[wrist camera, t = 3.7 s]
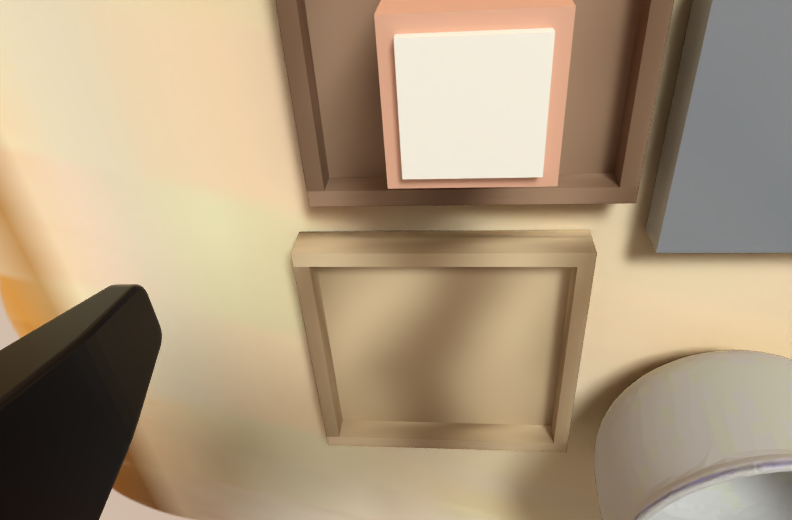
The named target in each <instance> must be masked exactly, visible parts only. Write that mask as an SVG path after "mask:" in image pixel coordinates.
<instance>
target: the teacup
mask: <svg viewBox="0 0 792 520" xmlns="http://www.w3.org/2000/svg"><path fill="white" fill-rule="evenodd" d="M594 470H595V480H596V487H597V493H598V500H599V507H600V512H601V517H602V520H792V360H791V359H788V358H785V357H782V356H778V355H773V354H769V353H764V352H759V351H748V350H725V351H712V352H706V353H700V354H695V355H691V356H687V357H684V358H680V359H677V360H675V361H672V362H669V363H667V364H664V365H662V366H660V367H658V368H655V369H654V370H652V371H650V372H648V373H647V374H645V375H643V376H642V377H640V378H639V379H638V380H636V381H635V382H634V383H632V384H631V385H630V386H629V387H627V388H626V389H625V390H624V391H623V392H622V393H621V394H620V395H619V396H618V397H617V398H616V400H615V401H614V402H613V403H612V405H611V406H610V408H609V409H608V411H607V412H606V414H605V415H604V418H603V420H602V422H601V424H600V427H599V430H598V433H597V437H596V442H595V450H594Z"/></svg>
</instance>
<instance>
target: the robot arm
mask: <svg viewBox="0 0 792 520" xmlns="http://www.w3.org/2000/svg"><path fill="white" fill-rule="evenodd" d="M161 340H162V333H161V328H160V325H159V322H158V320H157V317H156V314H155V312H154V309H153V307H152V304H151V302H150V299H149V297H148V294H147V292H146V290H145V289H144V288H143V287H142V286H140V285H136V284H131V285H111V286H109V287H107V288H105V289H104V290H102V291H100V292H99V293H97V294H95V295H93V296H92V297H90V298H88V299H87V300H85V301H83V302H82V303H80V304H78V305H76V306H75V307H73V308H71V309H70V310H68V311H66V312H65V313H63V314H61V315H59V316H58V317H56V318H54V319H53V320H51V321H49V322H48V323H46V324H44V325H42V326H41V327H39V328H37V329H36V330H34V331H32V332H30V333H29V334H27V335H25V336H24V337H22V338H20V339H19V340H17V341H16V342H14V343H12V344H10V345H8V346H7V347H5V348H3V349H2V350H0V520H99V518H100V516H101V513H102V511H103V509H104V506H105V504H106V501H107V499H108V497H109V494H110V492H111V490H112V487H113V485H114V482H115V480H116V478H117V475H118V473H119V471H120V468H121V466H122V463H123V461H124V459H125V456H126V454H127V451H128V449H129V446H130V444H131V441H132V439H133V436H134V433H135V430H136V427H137V424H138V420H139V417H140V414H141V410H142V407H143V403H144V400H145V397H146V393H147V390H148V387H149V383H150V380H151V376H152V373H153V370H154V366H155V363H156V360H157V356H158V353H159V350H160V346H161Z"/></svg>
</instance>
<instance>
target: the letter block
mask: <svg viewBox="0 0 792 520" xmlns="http://www.w3.org/2000/svg"><path fill="white" fill-rule="evenodd" d="M575 10H576V5H575V4H574V2H573V1H572V0H381V1H380V3H379V5H378V7H377V9H376V12H375V14H374V21H375V33H376V46H377V59H378V71H379V84H380V97H381V109H382V122H383V135H384V148H385V160H386V173H387V186H388V189H396V188H470V187H545V186H558V176H559V166H560V157H561V147H562V137H563V127H564V117H565V108H566V98H567V88H568V78H569V68H570V59H571V49H572V39H573V29H574V19H575Z"/></svg>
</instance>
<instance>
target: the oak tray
mask: <svg viewBox="0 0 792 520" xmlns="http://www.w3.org/2000/svg"><path fill="white" fill-rule="evenodd" d="M596 256H597V252H596V249H595V245H594V242H593V239H592V236H591V233H590V230H529V231H362V232H299V234H298V237H297V240H296V242H295V245H294V247H293V250H292V252H291V257H292V262H293V267H294V272H295V278H296V283H297V288H298V293H299V298H300V303H301V308H302V313H303V318H304V324H305V329H306V334H307V339H308V344H309V349H310V354H311V359H312V364H313V369H314V375H315V380H316V385H317V390H318V395H319V400H320V405H321V410H322V415H323V421H324V426H325V431H326V436H327V441H328V445H351V446H383V447H414V448H446V449H478V450H509V451H541V452H566V450H567V443H568V437H569V430H570V424H571V417H572V411H573V405H574V398H575V392H576V385H577V379H578V372H579V366H580V359H581V353H582V347H583V340H584V334H585V327H586V321H587V314H588V308H589V301H590V295H591V288H592V282H593V276H594V269H595V263H596Z"/></svg>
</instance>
